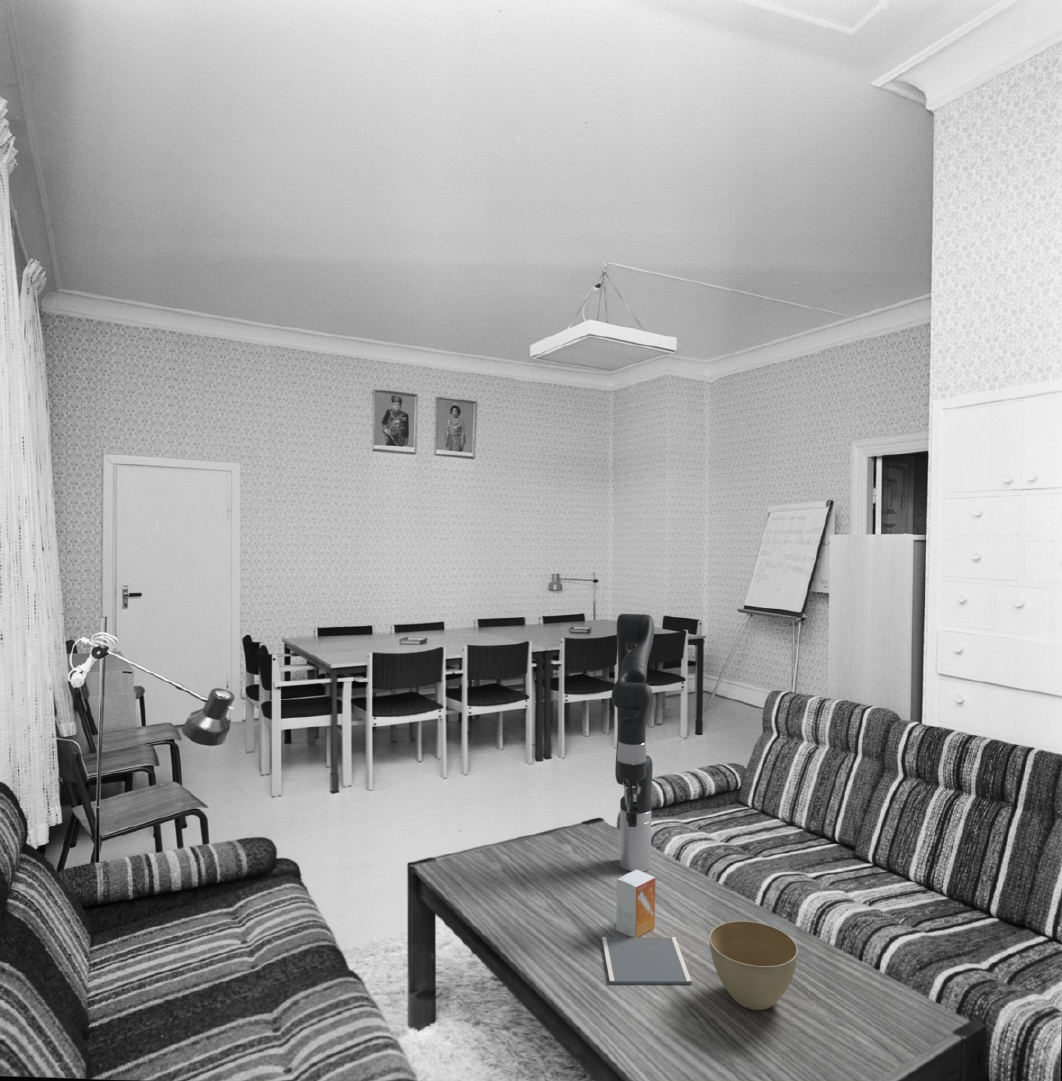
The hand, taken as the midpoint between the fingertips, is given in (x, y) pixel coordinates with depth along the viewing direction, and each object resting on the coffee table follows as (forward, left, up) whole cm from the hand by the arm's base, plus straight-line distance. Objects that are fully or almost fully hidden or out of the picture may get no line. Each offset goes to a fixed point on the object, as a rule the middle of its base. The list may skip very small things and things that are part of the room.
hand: (631, 823), depth 197 cm
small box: (+9, 0, -23) cm, 25 cm away
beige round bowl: (+37, +21, -23) cm, 49 cm away
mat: (+23, 0, -23) cm, 33 cm away
